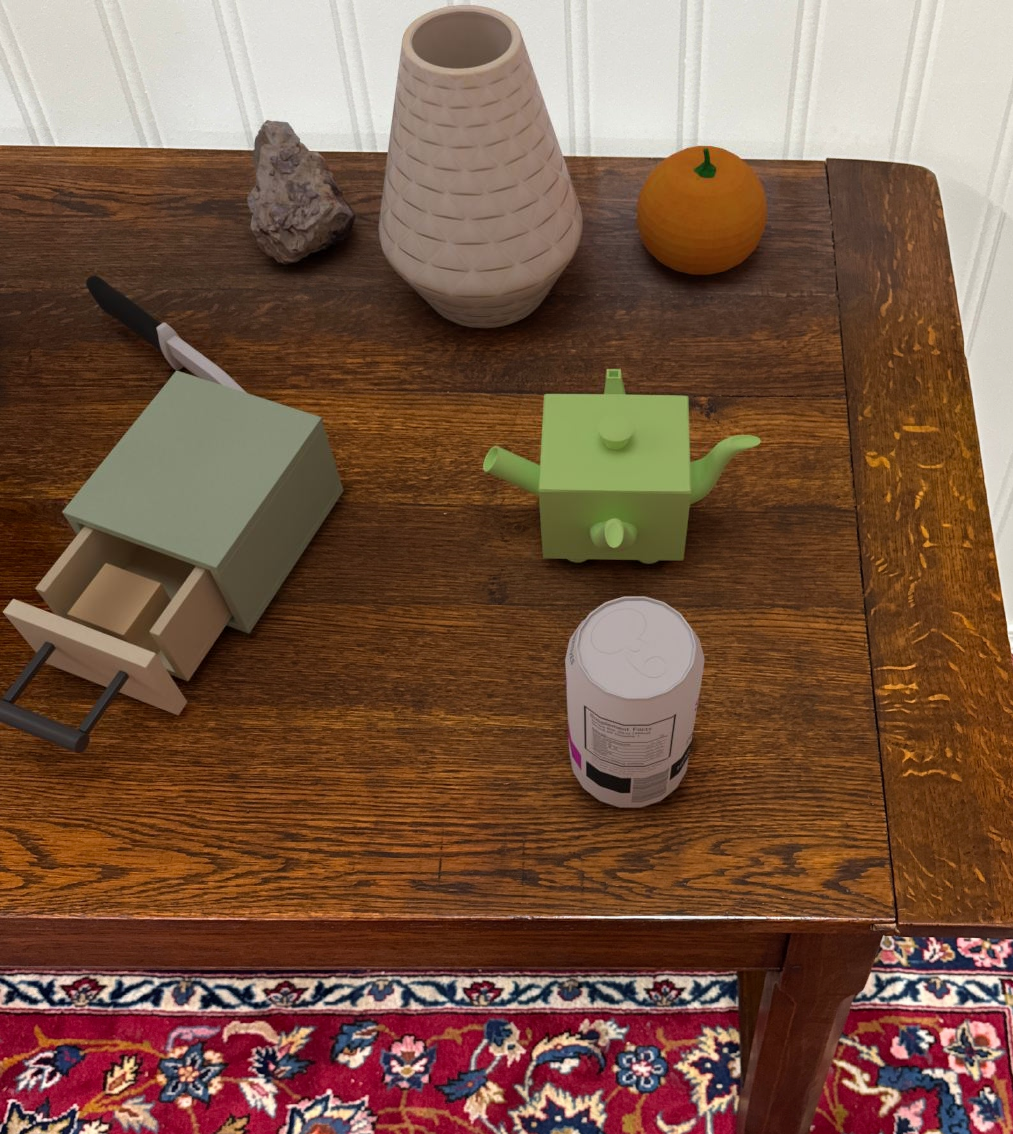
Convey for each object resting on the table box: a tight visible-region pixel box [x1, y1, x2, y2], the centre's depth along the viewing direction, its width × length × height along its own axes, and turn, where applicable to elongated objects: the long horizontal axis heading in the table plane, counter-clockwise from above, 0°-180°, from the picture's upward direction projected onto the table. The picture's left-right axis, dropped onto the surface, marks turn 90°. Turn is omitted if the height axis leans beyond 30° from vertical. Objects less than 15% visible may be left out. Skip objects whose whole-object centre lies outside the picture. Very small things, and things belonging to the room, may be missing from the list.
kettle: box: [482, 368, 762, 564], centre depth 84 cm, size 15×14×11 cm
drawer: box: [0, 526, 233, 754], centre depth 80 cm, size 20×11×7 cm, turn 157°
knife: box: [85, 275, 247, 393], centre depth 95 cm, size 25×2×5 cm, turn 50°
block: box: [67, 563, 171, 655], centre depth 80 cm, size 5×5×5 cm
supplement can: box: [564, 595, 706, 808], centre depth 72 cm, size 8×8×15 cm
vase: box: [377, 4, 584, 329], centre depth 93 cm, size 17×17×23 cm
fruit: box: [636, 145, 768, 276], centre depth 101 cm, size 12×12×10 cm
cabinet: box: [61, 370, 344, 634], centre depth 85 cm, size 15×13×9 cm
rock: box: [246, 119, 357, 265], centre depth 103 cm, size 9×12×10 cm
